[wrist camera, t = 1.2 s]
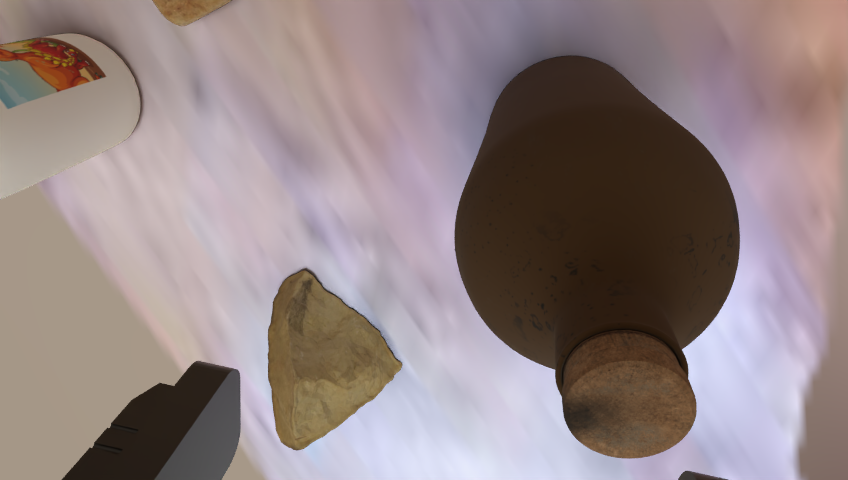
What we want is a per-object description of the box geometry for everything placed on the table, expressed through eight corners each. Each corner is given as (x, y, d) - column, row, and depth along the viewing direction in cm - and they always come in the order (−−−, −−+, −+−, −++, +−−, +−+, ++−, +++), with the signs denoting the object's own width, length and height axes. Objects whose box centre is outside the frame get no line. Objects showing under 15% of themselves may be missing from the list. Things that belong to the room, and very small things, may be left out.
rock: (233, 281, 43) (258, 400, 46) (258, 322, 35) (286, 460, 38) (369, 247, 47) (384, 357, 50) (417, 277, 40) (431, 403, 43)
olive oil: (557, 4, 33) (626, 113, 11) (692, 118, 35) (986, 409, 13) (445, 145, 38) (339, 418, 16) (569, 240, 40) (630, 606, 17)
